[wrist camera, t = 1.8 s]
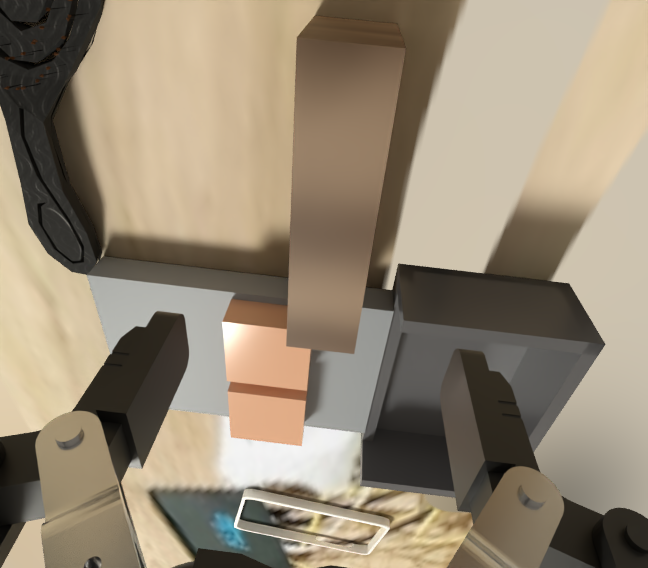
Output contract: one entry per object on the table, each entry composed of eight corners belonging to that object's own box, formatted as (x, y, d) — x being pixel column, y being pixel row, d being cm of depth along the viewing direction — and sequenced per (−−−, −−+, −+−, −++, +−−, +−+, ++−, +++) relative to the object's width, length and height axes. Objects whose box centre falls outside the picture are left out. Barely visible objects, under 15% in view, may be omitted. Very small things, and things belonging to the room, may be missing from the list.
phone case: (391, 513, 45) (246, 482, 44) (391, 527, 44) (243, 495, 42) (368, 543, 49) (236, 515, 48) (368, 556, 48) (232, 528, 47)
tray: (398, 263, 26) (403, 320, 22) (569, 283, 26) (605, 344, 22) (361, 426, 36) (360, 485, 32) (485, 441, 36) (499, 503, 32)
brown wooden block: (315, 15, 19) (296, 37, 14) (397, 23, 19) (406, 48, 14) (300, 277, 27) (286, 346, 23) (356, 283, 27) (354, 354, 23)
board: (103, 256, 27) (86, 275, 26) (392, 290, 27) (393, 311, 26) (136, 382, 35) (125, 403, 33) (364, 410, 34) (364, 433, 33)
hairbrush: (-7, 283, 26) (-373, -538, 10) (29, 247, 29) (-212, -441, 13) (133, 305, 27) (-5, -456, 10) (155, 268, 29) (74, -378, 13)
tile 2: (235, 367, 30) (227, 391, 28) (309, 376, 30) (305, 401, 28) (237, 413, 33) (230, 437, 31) (304, 421, 33) (301, 445, 31)
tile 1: (231, 298, 26) (222, 321, 24) (315, 308, 26) (312, 332, 24) (234, 357, 29) (226, 381, 27) (310, 366, 29) (306, 390, 27)
